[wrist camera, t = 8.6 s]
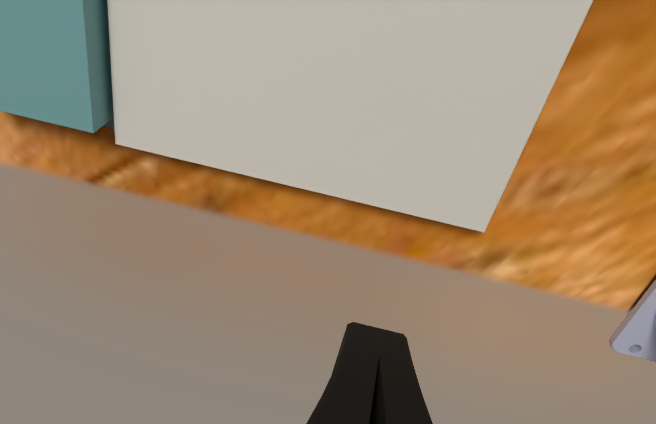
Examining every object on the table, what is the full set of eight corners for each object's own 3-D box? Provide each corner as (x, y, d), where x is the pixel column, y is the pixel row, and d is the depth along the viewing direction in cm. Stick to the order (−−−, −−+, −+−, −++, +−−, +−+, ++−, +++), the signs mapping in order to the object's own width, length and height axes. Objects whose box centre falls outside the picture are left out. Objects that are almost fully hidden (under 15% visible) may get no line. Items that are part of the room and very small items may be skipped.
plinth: (611, -99, 14) (638, -97, 12) (477, 203, 20) (484, 232, 18) (131, -213, 14) (94, -225, 12) (139, 122, 20) (115, 144, 18)
